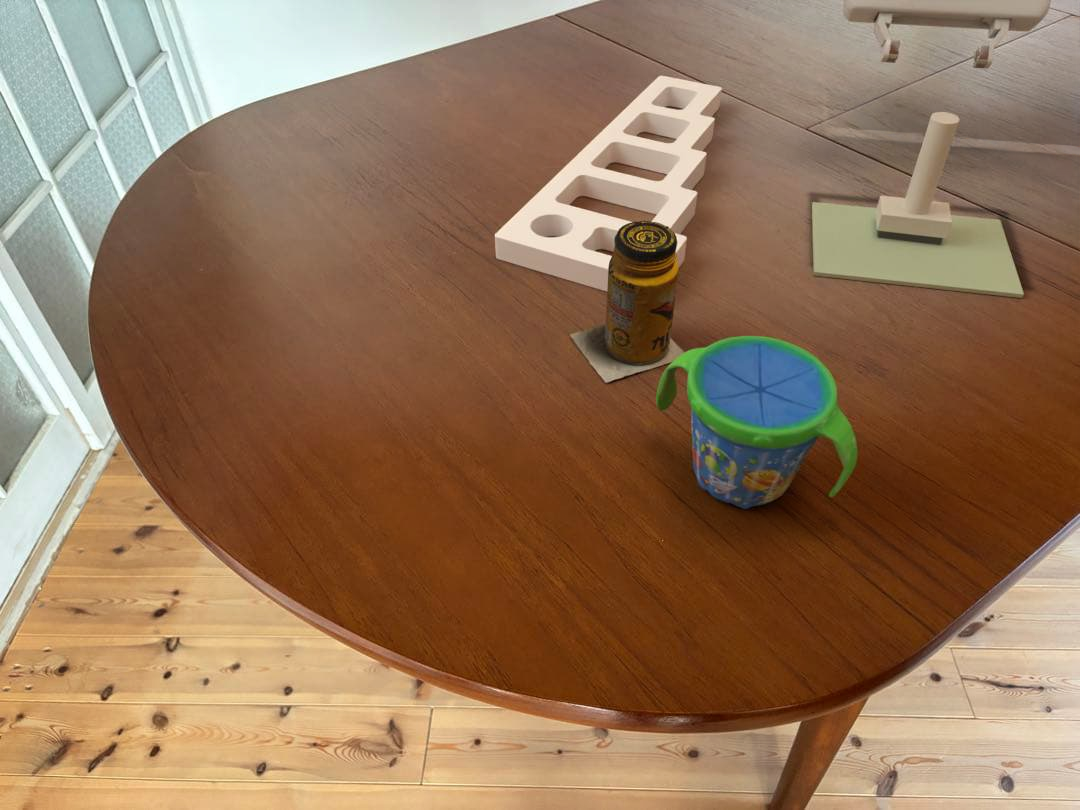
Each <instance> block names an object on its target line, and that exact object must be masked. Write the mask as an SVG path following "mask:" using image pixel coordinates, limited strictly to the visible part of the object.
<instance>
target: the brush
mask: <svg viewBox="0 0 1080 810" xmlns="http://www.w3.org/2000/svg"><path fill="white" fill-rule="evenodd" d="M959 123H960V117H959V116H958V115H956V114H954V113H951V112H947V111H936V112H933V113H932V114H931V115H930V119H929V121H928V125H927V128H926V131H925V134H924V137H923V140H922V145H921V147H920V150H919V153H918V156H917V158H916V159H917V160H916V162H915V167H914V169H913V173H912V175H911V180H910V181H909V186H908V188H907V190H906V194H905V197H897V196H890V195H880V196H879V199H878V202H877V206H876V208H877V209H876V222H877V237H878V238H887V239H895V240H904V241H912V242H921V243H929V244H938V245H940V244H941V241H942V239H943V238H947V236H948V233H949V230H950V228H951V225H952V218H951V215H952V213H951V207H950V202H945V201H944V202H943V201H937V200H936V201H935V200H934V196H935V194H936V191H937V188H938V185H939V182H940V180H941V177H942V173H943V170H944V168H945V165H946V162H947V158H948V155H949V153H950V149H951V148H952V147H951V146H952V144H953V141H954V138H955V135H956V132H957V129H958V126H959Z"/></svg>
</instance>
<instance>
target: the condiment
mask: <svg viewBox="0 0 1080 810" xmlns="http://www.w3.org/2000/svg"><path fill="white" fill-rule="evenodd" d="M651 221H652V220H640V221H630V222H631V223H628V224H626V225H624V226H622V227H621V228H620V229H619V230H618V232H617V235H616V236H615V238H614V241H615V242H614V243H615V246H614V250H613V252H612V254H613V255H611V256H612V257H611V259H610V262H609V267H608V288H607V291H606V308H605V323H604V324H601V325H599V326H596V327H595V326H594V327H592V328H589V329H585V330H580V331H577V332H574V333H571V334H569V336H570V337H571V339H572V340H573V342H574V343H575V345H576V346H577V347H578V349H579V350H580V352H581V353H582V354H583V355H584V357H585V359H586V360H587V361H588V362H589V365H591V367H593V369H594V370H595V371H596V373H597V374H598V375H599V376H600V378H601V379H602V380H603V381H604V382H605V383H610V382H612V381H614V380H619V379H622V378H624V377H628V376H631V375H635V374H636V373H640V372H645V371H649V370H652V369H655V368H658V367H660V366H664V365H667V364H671V363H672V362H673V361H674V360H675V359H676V358H677V357H679V356H680V355H681V354H683V353H685V352H686V351H684V350H683V349H682V348H681V347H680V346H679V344H677V343H676V342H675V341H674V340H673V339H672V337H671V336H672V327H673V320H674V313H675V312H674V310H675V302H676V294H677V293H676V292H677V286H678V280H679V269H680V267H678V262H677V260H676V247H677V238H676V235H675V233H674V232H673V231H672V230H671V229H670V228H669V227H668V226H665V225H663V224H661V223H657V222H651Z"/></svg>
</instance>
